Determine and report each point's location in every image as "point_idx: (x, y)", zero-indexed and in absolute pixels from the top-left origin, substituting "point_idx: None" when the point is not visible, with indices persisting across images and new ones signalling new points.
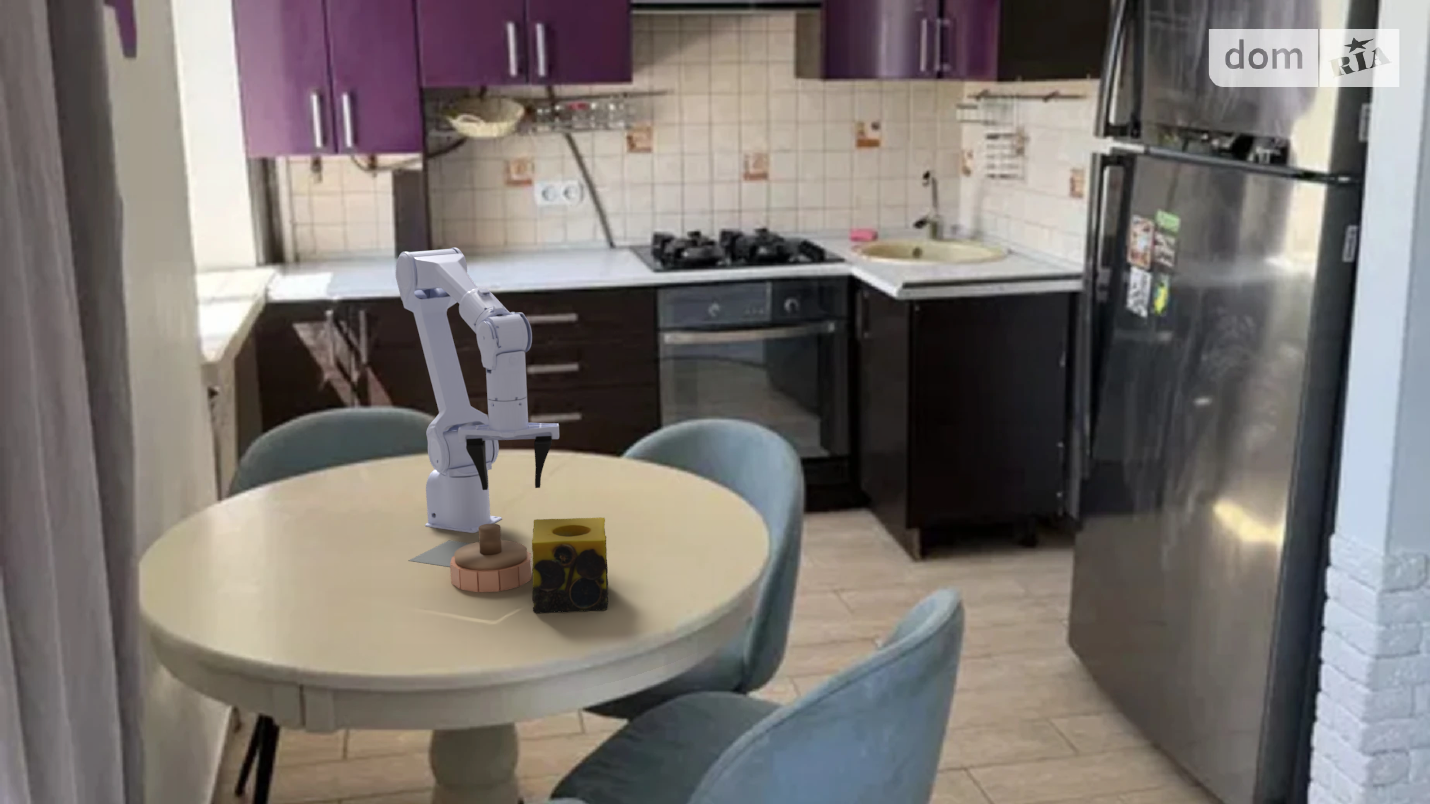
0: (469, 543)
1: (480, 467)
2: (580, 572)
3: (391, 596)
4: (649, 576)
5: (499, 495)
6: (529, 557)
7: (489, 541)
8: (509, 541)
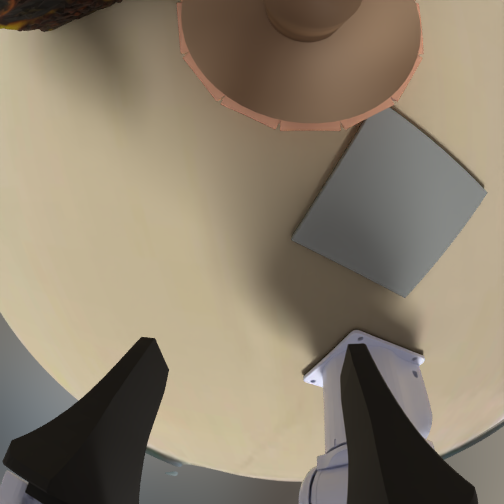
0: (369, 277)
1: (391, 425)
2: None
3: (493, 4)
4: (4, 91)
5: (306, 433)
6: (181, 22)
7: None
8: (252, 106)
